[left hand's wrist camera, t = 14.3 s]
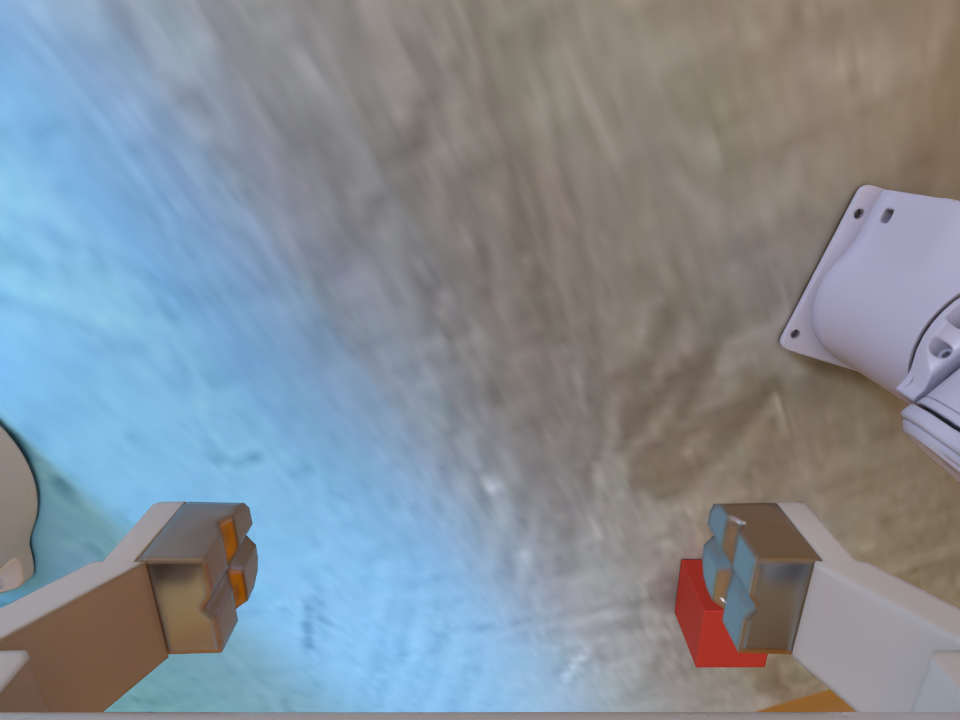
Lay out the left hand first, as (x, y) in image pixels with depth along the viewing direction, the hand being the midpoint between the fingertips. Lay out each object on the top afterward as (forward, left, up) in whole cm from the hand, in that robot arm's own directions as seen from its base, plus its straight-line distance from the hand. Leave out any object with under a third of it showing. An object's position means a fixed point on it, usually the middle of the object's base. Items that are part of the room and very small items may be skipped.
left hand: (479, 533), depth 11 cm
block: (+3, -27, -24) cm, 37 cm away
